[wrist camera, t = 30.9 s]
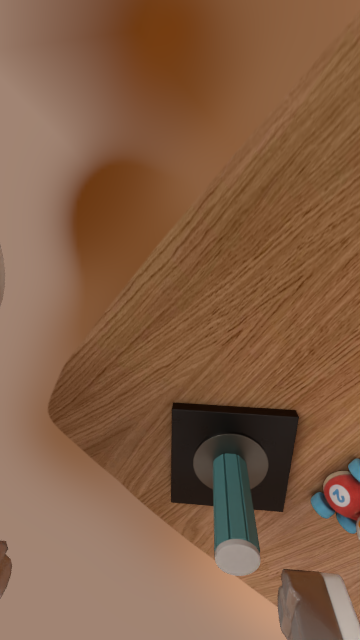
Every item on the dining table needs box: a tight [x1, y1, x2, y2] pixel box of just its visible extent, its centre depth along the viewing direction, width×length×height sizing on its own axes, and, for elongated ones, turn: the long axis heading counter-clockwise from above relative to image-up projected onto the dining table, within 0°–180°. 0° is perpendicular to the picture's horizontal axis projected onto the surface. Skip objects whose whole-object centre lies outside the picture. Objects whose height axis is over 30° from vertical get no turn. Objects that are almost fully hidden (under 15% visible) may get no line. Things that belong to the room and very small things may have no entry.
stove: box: [171, 403, 299, 512], centre depth 42 cm, size 16×16×2 cm
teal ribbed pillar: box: [213, 453, 260, 576], centre depth 36 cm, size 4×4×12 cm
